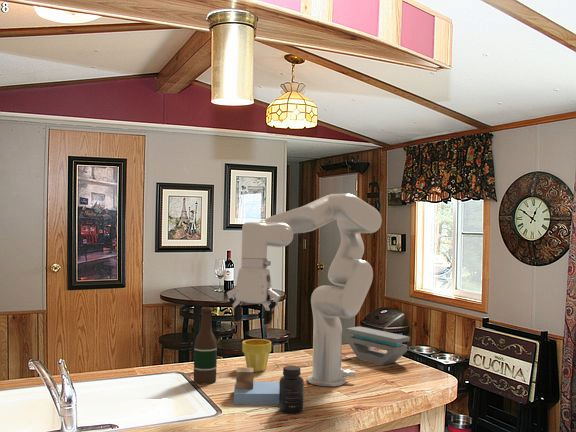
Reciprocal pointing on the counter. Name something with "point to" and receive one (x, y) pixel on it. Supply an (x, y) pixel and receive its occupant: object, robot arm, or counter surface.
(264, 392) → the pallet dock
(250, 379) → the block
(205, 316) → the beer bottle
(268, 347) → the plant pot
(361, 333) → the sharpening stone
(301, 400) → the supplement bottle
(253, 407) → the counter surface
